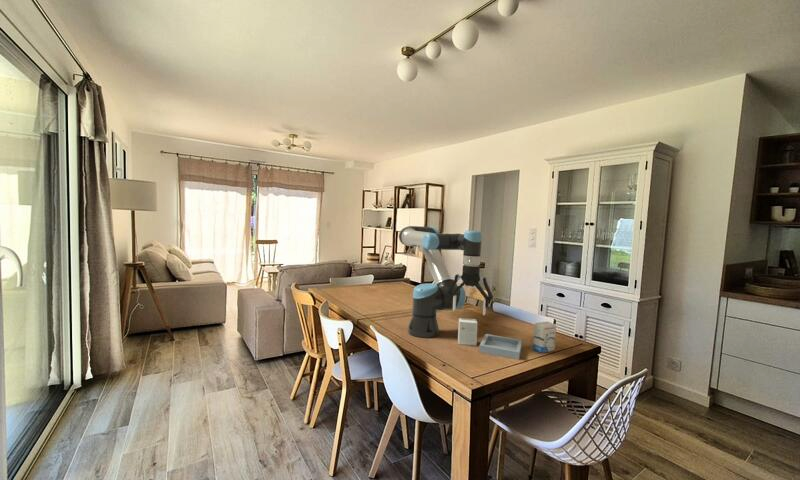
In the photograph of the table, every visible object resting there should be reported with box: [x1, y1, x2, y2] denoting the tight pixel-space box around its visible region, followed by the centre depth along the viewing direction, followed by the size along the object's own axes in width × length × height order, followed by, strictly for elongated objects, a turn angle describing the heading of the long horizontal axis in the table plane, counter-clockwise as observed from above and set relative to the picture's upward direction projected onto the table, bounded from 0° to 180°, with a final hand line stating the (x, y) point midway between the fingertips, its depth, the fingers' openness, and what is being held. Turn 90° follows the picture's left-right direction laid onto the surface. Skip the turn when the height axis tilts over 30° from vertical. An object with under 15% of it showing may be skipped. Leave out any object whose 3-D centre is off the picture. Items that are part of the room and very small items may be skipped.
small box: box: [457, 317, 479, 346], centre depth 153 cm, size 8×6×10 cm
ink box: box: [532, 321, 557, 354], centre depth 148 cm, size 9×5×12 cm, turn 117°
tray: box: [478, 333, 523, 361], centre depth 147 cm, size 16×16×3 cm
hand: (468, 312), depth 152 cm, fingers open, 13 cm apart
